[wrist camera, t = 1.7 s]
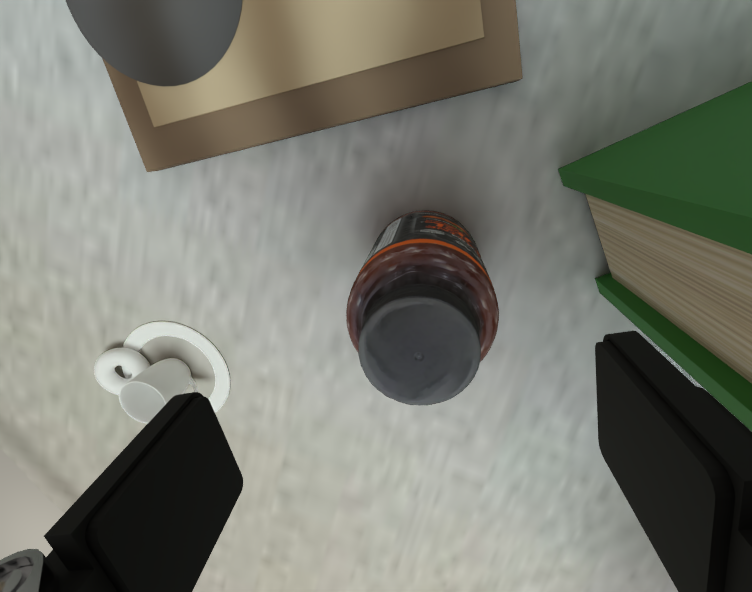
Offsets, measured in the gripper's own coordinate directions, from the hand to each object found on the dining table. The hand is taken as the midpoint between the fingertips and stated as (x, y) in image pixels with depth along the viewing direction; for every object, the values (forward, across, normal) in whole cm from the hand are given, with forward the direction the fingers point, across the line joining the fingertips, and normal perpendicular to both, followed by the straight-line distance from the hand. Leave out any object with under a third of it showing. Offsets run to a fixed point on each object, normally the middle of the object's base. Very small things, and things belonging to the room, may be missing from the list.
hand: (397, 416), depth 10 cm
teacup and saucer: (+16, +18, +3) cm, 24 cm away
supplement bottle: (+15, -1, +1) cm, 15 cm away
